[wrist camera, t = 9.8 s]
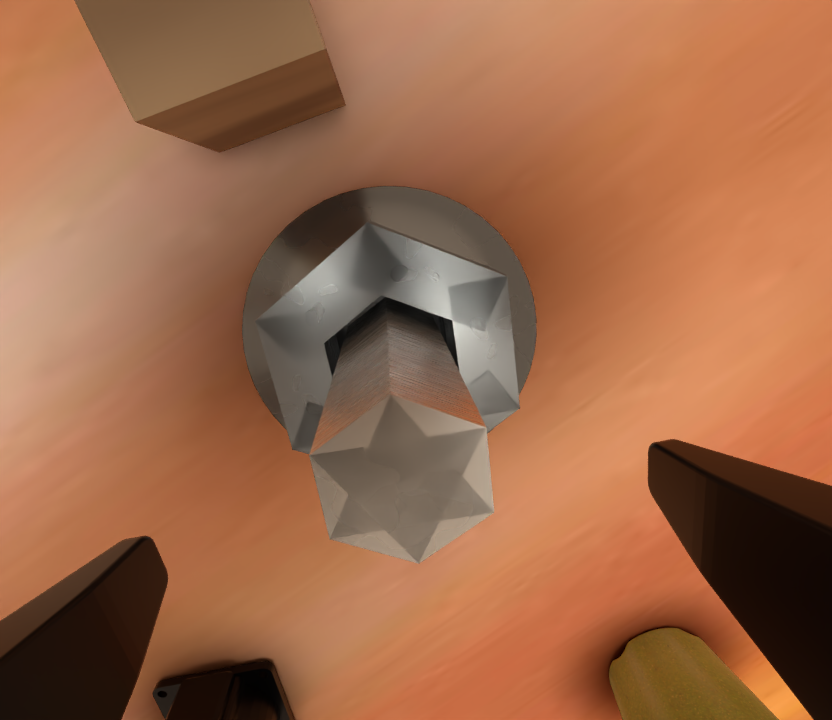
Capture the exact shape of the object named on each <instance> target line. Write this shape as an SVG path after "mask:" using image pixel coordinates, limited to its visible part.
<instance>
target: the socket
mask: <svg viewBox="0 0 832 720" xmlns="http://www.w3.org/2000/svg"><path fill="white" fill-rule="evenodd" d="M384 297H388V298H391V299H393V300H396V301H399V302H402V303H404V304H407V305H410V306H413V307H416V308H418V309H421V310H423V311H426V312H428V313H431V314H432V316H433V318H434V320H435V322H436V324H437V326H438V328H439V330H440V332H441V334H442V337H443V339H444V341H445V343H446V345H447V347H448V349H449V351H450V353H451V355H452V357H453V359H454V361H455V364H456V366H457V368H458V370H459V372H460V374H461V376H462V378H463V380H464V382H465V384H466V386H467V388H468V391H469V393H470V395H471V397H472V399H473V401H474V403H475V405H476V407H477V409H478V411H479V413H480V415H481V417H482V420H483V422H484V424H485V426H486V429H487V433H489V432H490V431H491V430H492V429H493V428H494V427H495V426H497V425H498V424H499V423H501V422H502V421H503V420H505V419H506V418H507V417H509V416H510V415H511V414H513V413H514V412H515V411H517V410H518V409H520V405H519V394H520V392H521V390H522V388H523V386H524V384H525V381H526V379H527V376H528V374H529V371H530V368H531V364H532V360H533V356H534V351H535V343H536V312H535V305H534V299H533V295H532V292H531V288H530V285H529V281H528V279H527V277H526V274H525V272H524V270H523V268H522V265H521V263H520V262H519V260H518V258H517V257H516V255H515V253H514V252H513V250H512V249H511V247H510V246H509V245H508V243H507V242H506V241H505V240H504V239H503V237H502V236H501V235H500V234H499V233H498V231H496V230H495V229H494V228H493V227H492V226H491V225H490V224H489V223H488V222H487V221H486V220H484V219H483V218H482V217H481V216H479V215H478V214H476V213H475V212H473V211H472V210H470V209H469V208H467V207H466V206H464V205H462V204H460V203H458V202H456V201H454V200H452V199H450V198H448V197H445V196H442V195H439V194H436V193H433V192H430V191H426V190H421V189H415V188H410V187H397V186H380V187H370V188H362V189H358V190H354V191H350V192H346V193H342V194H340V195H337V196H335V197H332V198H330V199H328V200H325V201H323V202H321V203H319V204H318V205H316V206H314V207H312V208H311V209H309V210H307V211H305V212H304V213H303V214H301V215H300V216H299V217H298V218H296V219H295V220H294V221H293V222H291V223H290V224H289V225H288V226H287V227H286V228H285V229H284V230H283V231H282V232H281V233H280V234H279V235H278V236H277V237H276V238H275V239H274V241H273V242H272V244H271V245H270V246H269V248H268V249H267V251H266V252H265V253H264V255H263V256H262V258H261V260H260V262H259V264H258V266H257V268H256V270H255V272H254V274H253V276H252V279H251V282H250V285H249V288H248V291H247V294H246V300H245V305H244V310H243V325H242V335H243V346H244V353H245V357H246V361H247V366H248V369H249V372H250V375H251V377H252V380H253V382H254V385H255V387H256V389H257V391H258V393H259V395H260V396H261V398H262V400H263V402H264V403H265V405H266V406H267V407H268V409H269V410H270V412H271V413H272V414H273V416H274V417H275V418H276V419H277V420H278V421H279V422H280V423H281V425H282V426H283V427H284V428H285V429H286V430H287V432H288V435H289V439H290V442H291V445H292V449H293V450H296V451H300V452H303V453H307V454H310V451H311V448H312V444H313V441H314V438H315V435H316V431H317V428H318V425H319V421H320V418H321V415H322V411H323V408H324V405H325V401H326V398H327V395H328V391H329V388H330V385H331V381H332V378H333V375H334V371H335V368H336V365H337V361H338V358H339V355H340V351H341V348H342V345H343V341H344V338H345V335H346V331H347V328H348V326H349V325H350V324H351V323H353V322H354V321H355V320H356V319H358V318H359V317H360V316H361V315H363V314H364V313H365V312H367V311H368V310H369V309H370V308H372V307H373V306H374V305H375V304H377V303H378V302H379V301H380V300H382V299H383V298H384Z"/></svg>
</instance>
